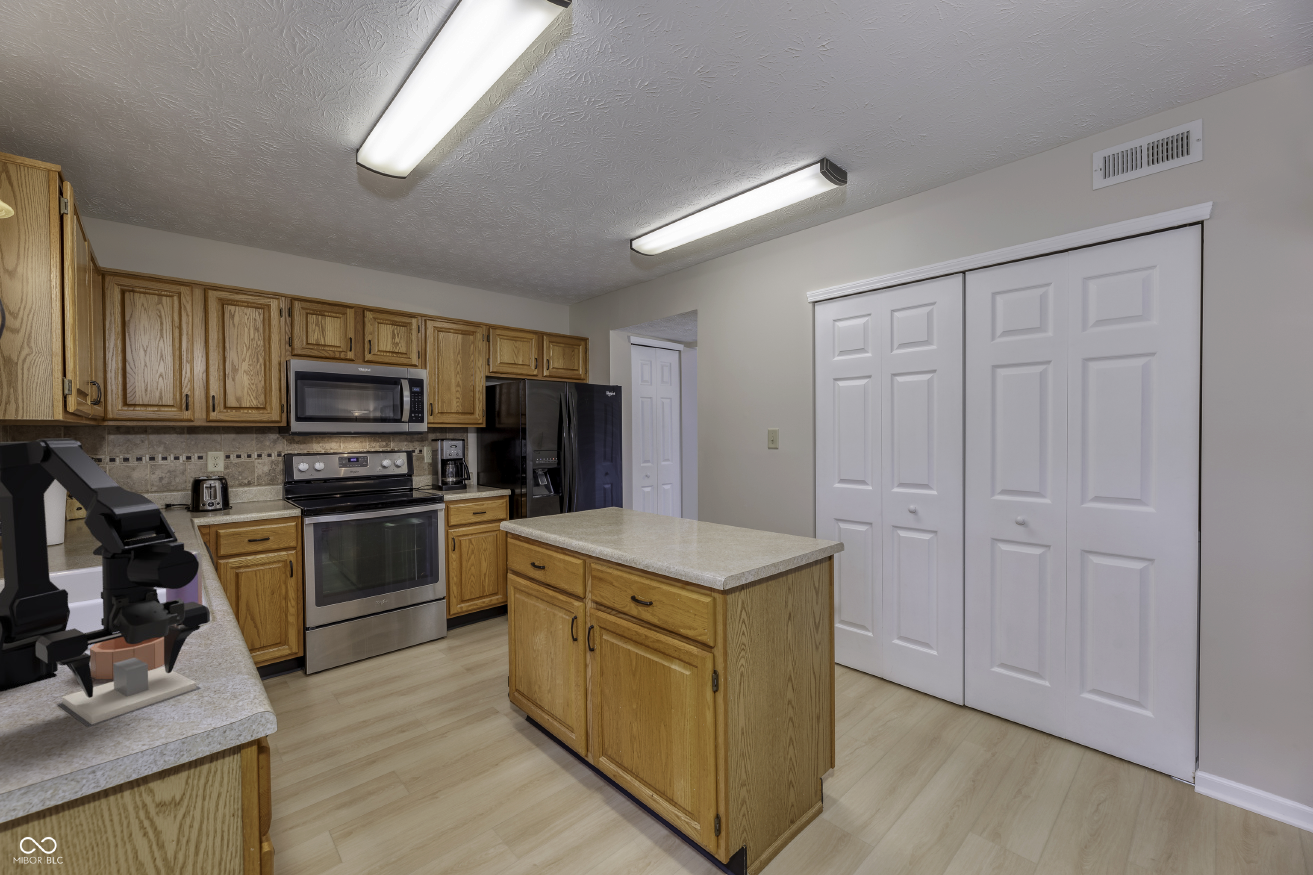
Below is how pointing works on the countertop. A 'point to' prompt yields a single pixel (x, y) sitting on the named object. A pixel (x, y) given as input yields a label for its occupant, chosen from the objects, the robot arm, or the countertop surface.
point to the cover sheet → (127, 704)
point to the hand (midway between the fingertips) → (130, 684)
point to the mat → (115, 716)
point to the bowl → (124, 655)
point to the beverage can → (189, 586)
